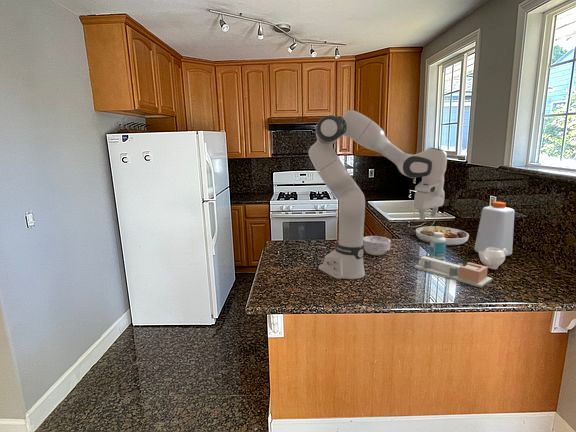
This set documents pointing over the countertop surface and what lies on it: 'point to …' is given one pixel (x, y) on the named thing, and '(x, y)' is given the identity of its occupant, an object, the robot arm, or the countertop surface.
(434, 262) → the white long bar
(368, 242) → the paper bowls
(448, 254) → the countertop surface
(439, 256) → the pill bottle
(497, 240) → the plastic bottle
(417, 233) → the bowl
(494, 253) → the teapot
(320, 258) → the countertop surface
